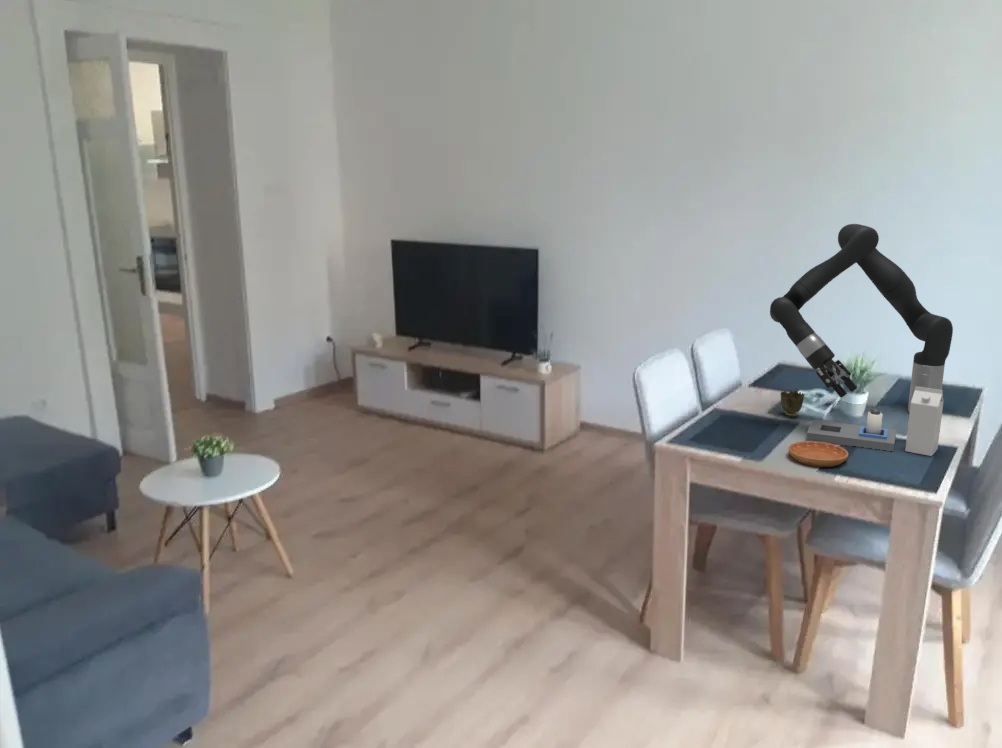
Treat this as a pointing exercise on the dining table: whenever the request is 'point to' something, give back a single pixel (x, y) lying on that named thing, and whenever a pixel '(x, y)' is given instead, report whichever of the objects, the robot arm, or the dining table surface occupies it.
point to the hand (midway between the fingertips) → (849, 392)
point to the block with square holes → (850, 435)
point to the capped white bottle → (874, 422)
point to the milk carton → (924, 421)
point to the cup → (791, 402)
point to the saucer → (818, 453)
